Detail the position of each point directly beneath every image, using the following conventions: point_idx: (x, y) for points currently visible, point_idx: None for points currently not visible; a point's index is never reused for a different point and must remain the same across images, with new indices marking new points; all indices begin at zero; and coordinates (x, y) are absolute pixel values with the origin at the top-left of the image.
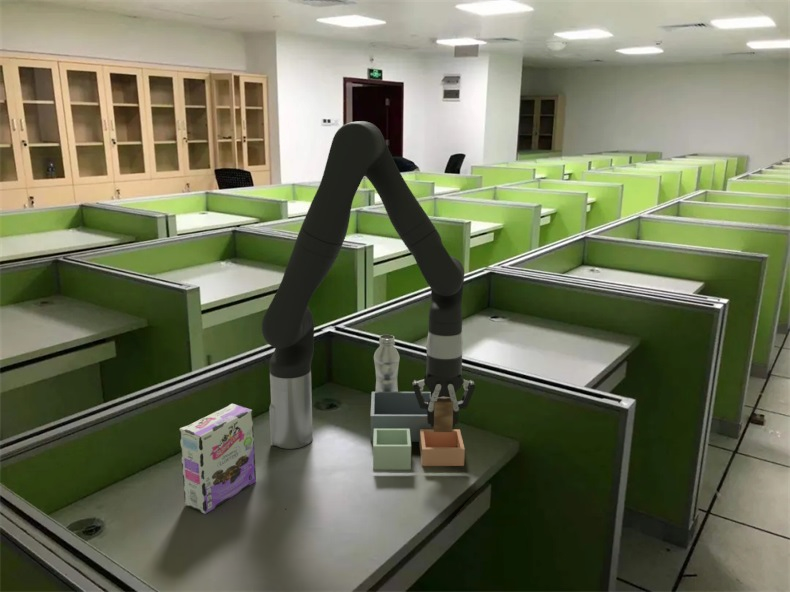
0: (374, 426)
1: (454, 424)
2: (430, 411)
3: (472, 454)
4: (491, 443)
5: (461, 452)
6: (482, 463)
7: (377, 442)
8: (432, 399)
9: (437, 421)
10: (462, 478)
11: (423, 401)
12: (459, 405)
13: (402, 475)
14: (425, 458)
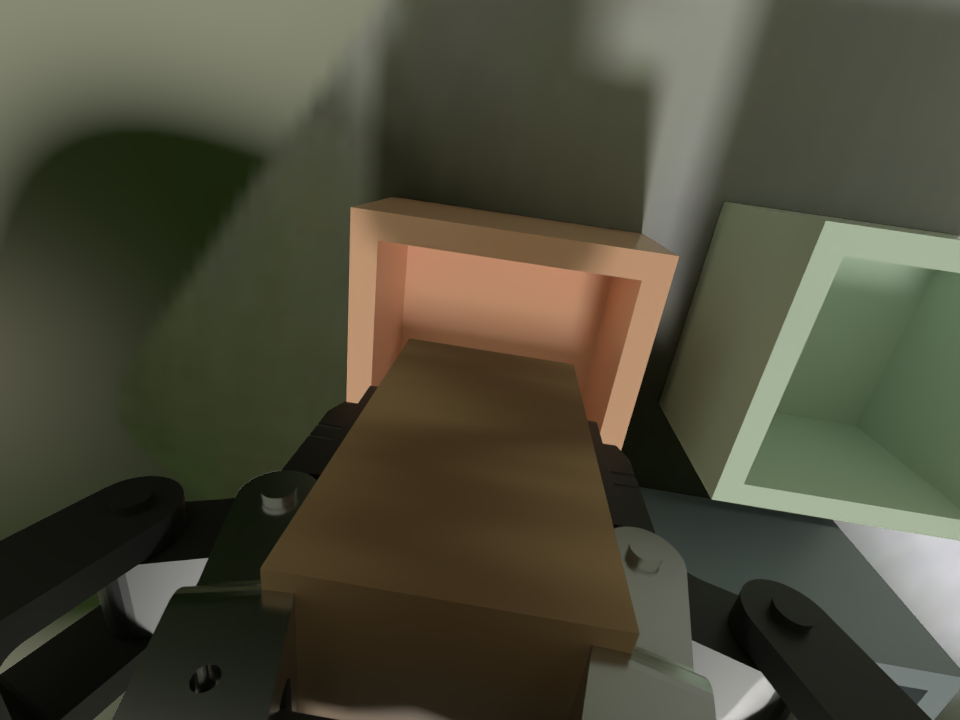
0: (878, 599)
1: (370, 391)
2: (639, 528)
3: (322, 335)
4: (214, 419)
5: (382, 209)
6: (280, 235)
7: (893, 459)
8: (688, 714)
9: (548, 410)
10: (424, 73)
11: (825, 704)
12: (209, 541)
13: (791, 165)
14: (634, 240)
